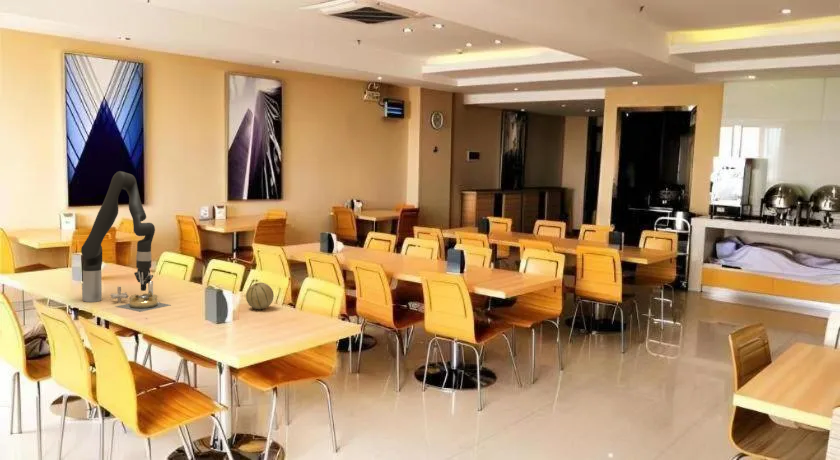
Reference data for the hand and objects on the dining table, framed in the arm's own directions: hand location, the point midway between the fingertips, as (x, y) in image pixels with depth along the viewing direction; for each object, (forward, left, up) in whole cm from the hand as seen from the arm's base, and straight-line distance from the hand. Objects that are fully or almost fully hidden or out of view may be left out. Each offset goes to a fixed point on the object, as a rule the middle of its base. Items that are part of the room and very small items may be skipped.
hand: (143, 290), depth 356 cm
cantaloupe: (+54, +32, -8) cm, 64 cm away
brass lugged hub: (+6, -5, -7) cm, 11 cm away
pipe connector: (-11, -7, -8) cm, 15 cm away
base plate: (+6, -5, -8) cm, 12 cm away
